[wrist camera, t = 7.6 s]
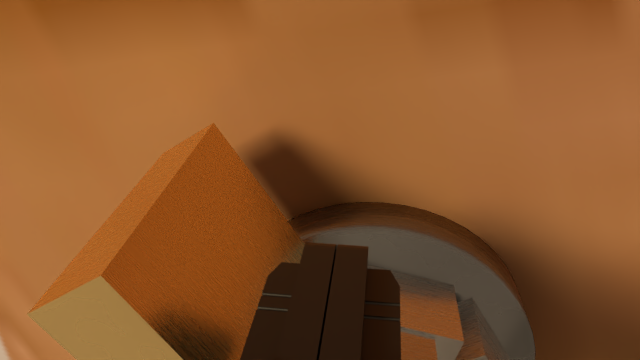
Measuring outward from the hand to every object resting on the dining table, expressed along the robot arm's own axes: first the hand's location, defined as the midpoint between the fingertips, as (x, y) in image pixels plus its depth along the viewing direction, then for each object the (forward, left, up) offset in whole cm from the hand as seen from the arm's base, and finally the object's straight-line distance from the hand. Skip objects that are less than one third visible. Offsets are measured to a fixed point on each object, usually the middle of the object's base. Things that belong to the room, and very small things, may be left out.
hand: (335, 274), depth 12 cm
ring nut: (-2, +5, -4) cm, 7 cm away
